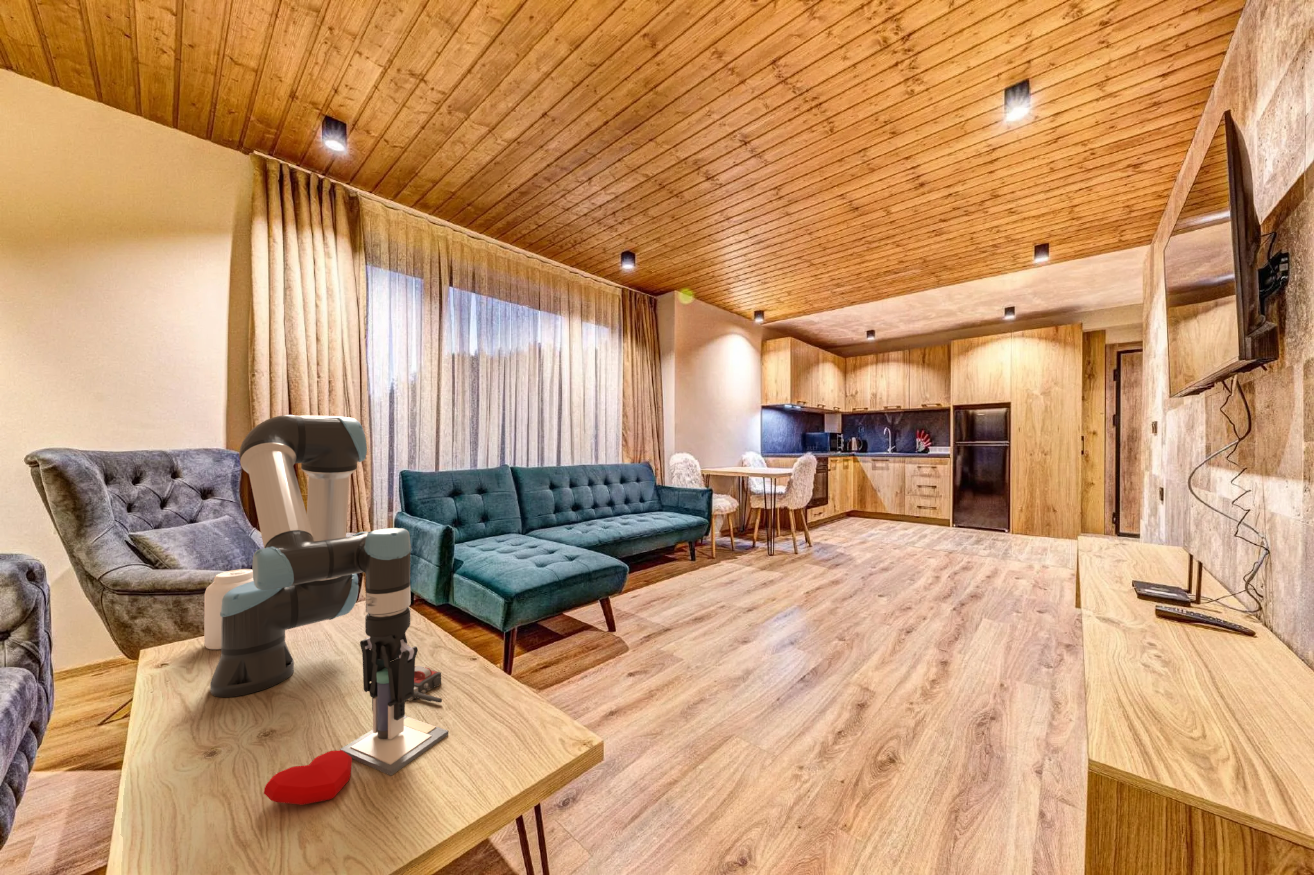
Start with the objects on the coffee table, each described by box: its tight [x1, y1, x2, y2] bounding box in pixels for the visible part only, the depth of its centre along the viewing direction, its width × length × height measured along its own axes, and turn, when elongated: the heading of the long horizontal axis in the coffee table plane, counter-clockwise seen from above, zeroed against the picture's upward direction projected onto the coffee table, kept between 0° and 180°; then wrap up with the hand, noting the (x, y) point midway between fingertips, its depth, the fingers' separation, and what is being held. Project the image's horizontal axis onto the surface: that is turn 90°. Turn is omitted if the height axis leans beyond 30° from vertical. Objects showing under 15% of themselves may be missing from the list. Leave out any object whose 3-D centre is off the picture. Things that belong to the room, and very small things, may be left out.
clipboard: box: [339, 715, 449, 776], centre depth 87 cm, size 14×12×1 cm
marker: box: [377, 668, 391, 739], centre depth 89 cm, size 4×4×12 cm
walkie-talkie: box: [407, 665, 443, 704], centre depth 107 cm, size 9×4×20 cm
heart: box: [263, 749, 353, 806], centre depth 75 cm, size 12×4×10 cm
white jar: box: [203, 568, 254, 650], centre depth 133 cm, size 12×12×20 cm
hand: (388, 731), depth 88 cm, fingers closed on marker, 4 cm apart
